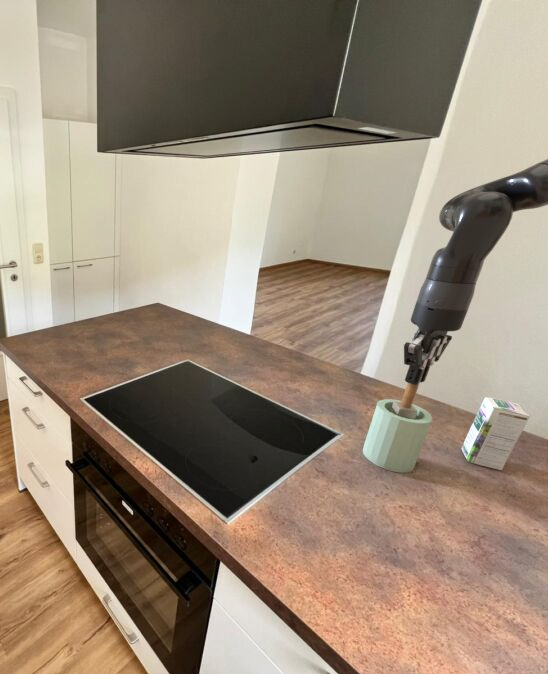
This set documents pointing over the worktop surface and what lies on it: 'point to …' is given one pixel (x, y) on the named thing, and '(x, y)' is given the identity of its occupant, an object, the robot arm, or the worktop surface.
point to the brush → (406, 403)
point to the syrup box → (494, 433)
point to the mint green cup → (396, 437)
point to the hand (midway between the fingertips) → (414, 381)
